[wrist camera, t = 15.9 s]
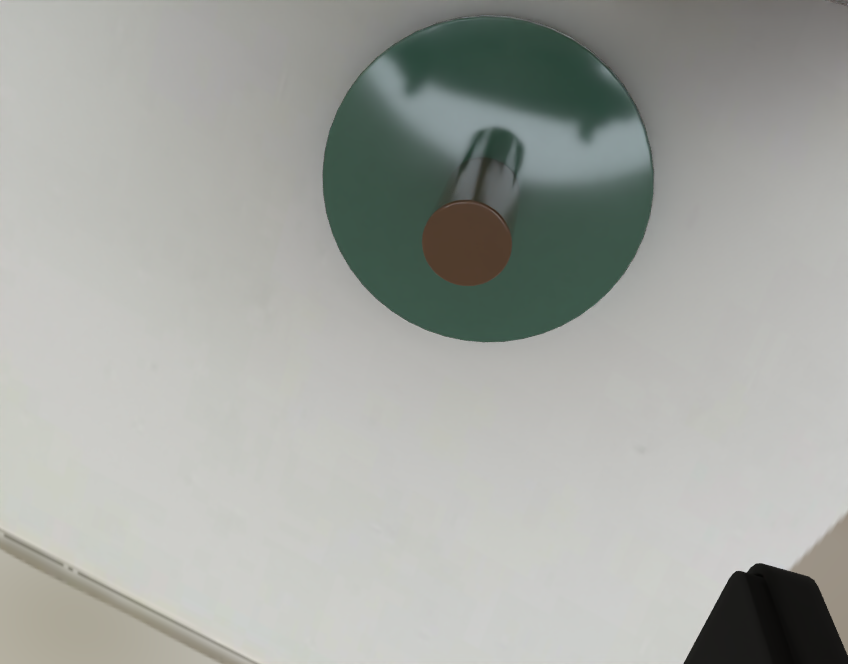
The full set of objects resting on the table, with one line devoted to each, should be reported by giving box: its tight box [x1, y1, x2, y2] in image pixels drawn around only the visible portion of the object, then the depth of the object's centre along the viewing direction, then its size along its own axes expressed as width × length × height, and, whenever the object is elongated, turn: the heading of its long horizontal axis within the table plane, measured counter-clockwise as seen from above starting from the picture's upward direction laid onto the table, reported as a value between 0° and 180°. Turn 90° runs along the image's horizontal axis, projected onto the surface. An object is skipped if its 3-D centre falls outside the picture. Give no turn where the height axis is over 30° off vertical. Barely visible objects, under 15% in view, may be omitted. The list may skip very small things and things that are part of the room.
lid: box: [323, 15, 654, 342], centre depth 23 cm, size 11×11×6 cm
